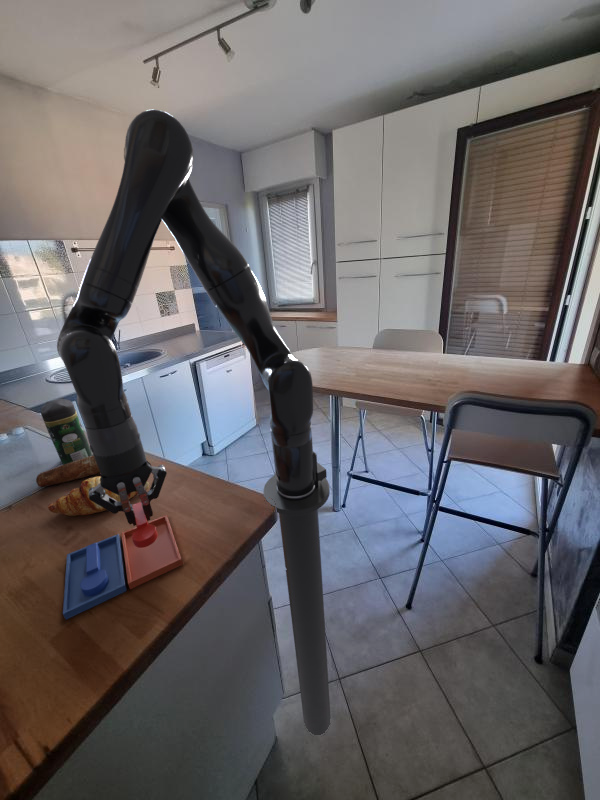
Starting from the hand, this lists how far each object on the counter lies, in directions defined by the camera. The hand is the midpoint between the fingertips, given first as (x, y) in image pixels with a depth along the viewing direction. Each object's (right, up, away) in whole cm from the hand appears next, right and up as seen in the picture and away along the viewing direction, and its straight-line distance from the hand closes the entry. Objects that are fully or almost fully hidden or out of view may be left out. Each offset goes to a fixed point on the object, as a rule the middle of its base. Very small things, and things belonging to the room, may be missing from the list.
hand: (141, 520), depth 64 cm
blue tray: (-6, -9, -4) cm, 11 cm away
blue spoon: (-7, -8, -4) cm, 11 cm away
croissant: (-16, -2, +15) cm, 22 cm away
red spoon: (+1, -1, -1) cm, 2 cm away
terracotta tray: (+2, -6, +1) cm, 6 cm away
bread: (-29, +2, +26) cm, 39 cm away
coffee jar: (-36, +5, +35) cm, 50 cm away
